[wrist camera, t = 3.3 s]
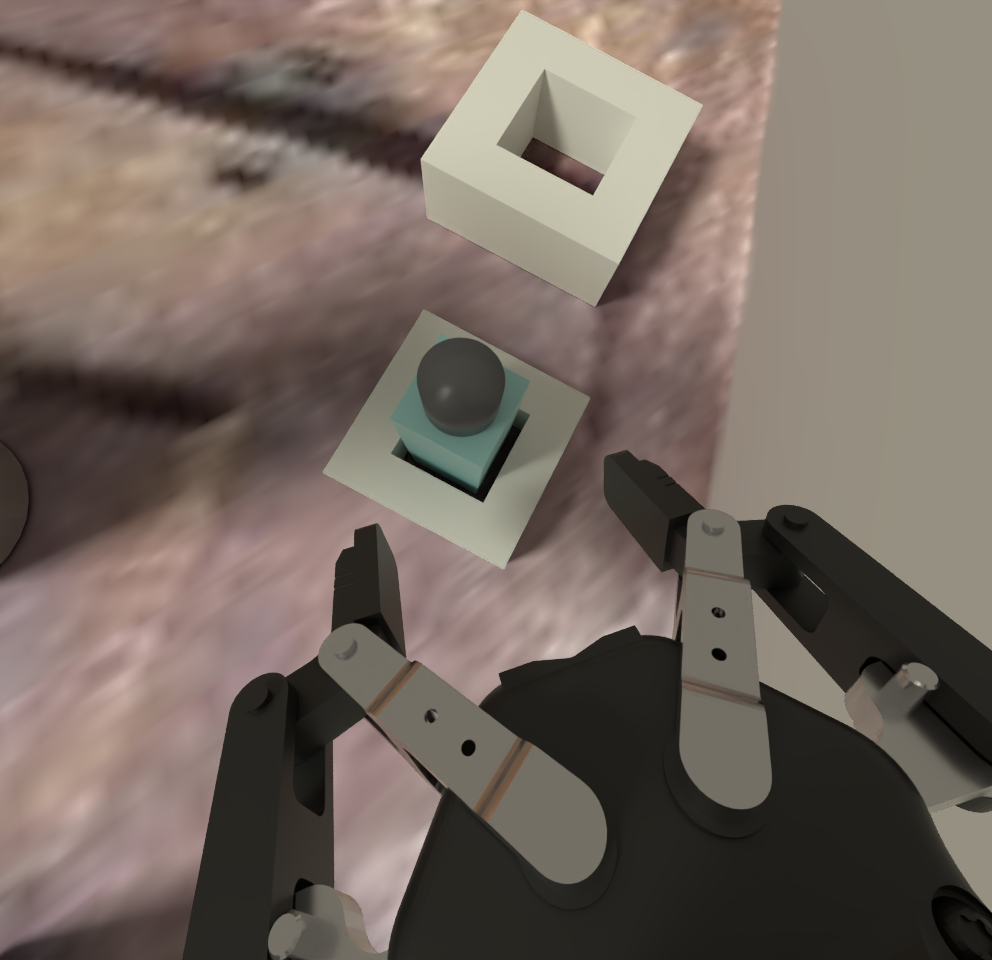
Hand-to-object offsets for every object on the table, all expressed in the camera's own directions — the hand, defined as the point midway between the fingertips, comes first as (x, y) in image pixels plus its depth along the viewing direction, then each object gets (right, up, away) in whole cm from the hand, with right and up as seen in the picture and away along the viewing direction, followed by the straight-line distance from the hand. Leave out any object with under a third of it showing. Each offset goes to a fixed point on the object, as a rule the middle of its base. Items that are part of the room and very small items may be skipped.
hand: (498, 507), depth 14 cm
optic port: (+4, +20, +13) cm, 24 cm away
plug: (-2, +3, +10) cm, 10 cm away
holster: (-2, +3, +10) cm, 10 cm away
